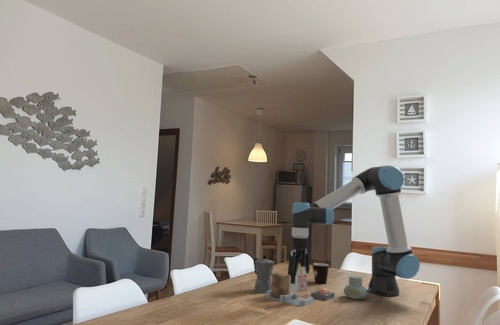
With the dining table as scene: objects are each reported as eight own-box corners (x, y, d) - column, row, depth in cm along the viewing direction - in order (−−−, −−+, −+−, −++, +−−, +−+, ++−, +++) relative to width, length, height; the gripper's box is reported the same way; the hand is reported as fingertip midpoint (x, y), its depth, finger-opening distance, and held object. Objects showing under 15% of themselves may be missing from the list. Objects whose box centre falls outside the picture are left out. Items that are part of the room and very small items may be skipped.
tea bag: (289, 289, 161) (290, 266, 162) (301, 288, 165) (301, 265, 166) (295, 291, 158) (296, 268, 159) (306, 290, 162) (307, 267, 163)
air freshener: (369, 298, 175) (369, 276, 176) (364, 302, 168) (365, 279, 169) (346, 294, 181) (346, 273, 182) (341, 298, 174) (341, 276, 175)
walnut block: (288, 297, 166) (289, 275, 167) (284, 299, 163) (284, 276, 164) (276, 294, 171) (276, 272, 172) (271, 296, 167) (271, 274, 168)
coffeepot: (279, 295, 174) (280, 256, 176) (263, 297, 169) (264, 257, 171) (260, 287, 187) (262, 252, 189) (245, 289, 182) (246, 252, 184)
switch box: (334, 299, 170) (334, 292, 171) (326, 302, 164) (326, 295, 165) (319, 296, 175) (319, 289, 176) (310, 299, 169) (311, 292, 169)
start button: (328, 297, 170) (328, 288, 171) (324, 299, 167) (324, 290, 167) (320, 296, 173) (321, 287, 173) (316, 297, 170) (317, 288, 170)
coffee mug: (329, 284, 200) (330, 266, 201) (314, 284, 200) (314, 265, 201) (325, 280, 212) (326, 262, 213) (311, 279, 212) (311, 261, 213)
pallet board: (316, 303, 162) (316, 296, 162) (302, 309, 153) (302, 302, 153) (277, 294, 175) (277, 288, 175) (262, 299, 166) (262, 292, 166)
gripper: (304, 235, 174) (302, 284, 172) (280, 237, 158) (278, 291, 156) (318, 236, 169) (317, 287, 167) (295, 239, 153) (293, 295, 151)
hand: (298, 289), depth 161 cm, fingers closed on tea bag, 7 cm apart
